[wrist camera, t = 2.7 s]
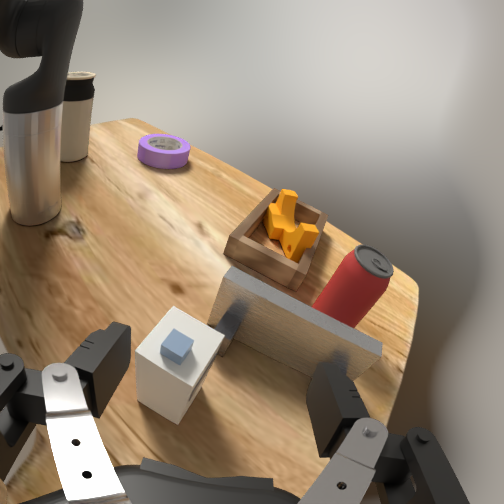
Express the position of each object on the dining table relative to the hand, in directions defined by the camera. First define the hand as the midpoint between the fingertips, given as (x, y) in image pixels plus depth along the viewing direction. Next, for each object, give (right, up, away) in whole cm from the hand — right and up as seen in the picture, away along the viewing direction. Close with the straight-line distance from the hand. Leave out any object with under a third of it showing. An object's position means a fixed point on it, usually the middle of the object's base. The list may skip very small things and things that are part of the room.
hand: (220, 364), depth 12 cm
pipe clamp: (+6, +7, +40) cm, 41 cm away
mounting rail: (+4, -8, +21) cm, 23 cm away
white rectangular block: (-7, -9, +14) cm, 18 cm away
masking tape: (-19, +26, +51) cm, 60 cm away
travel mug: (-38, +25, +41) cm, 61 cm away
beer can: (+12, -5, +28) cm, 31 cm away
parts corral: (+6, +7, +40) cm, 41 cm away
